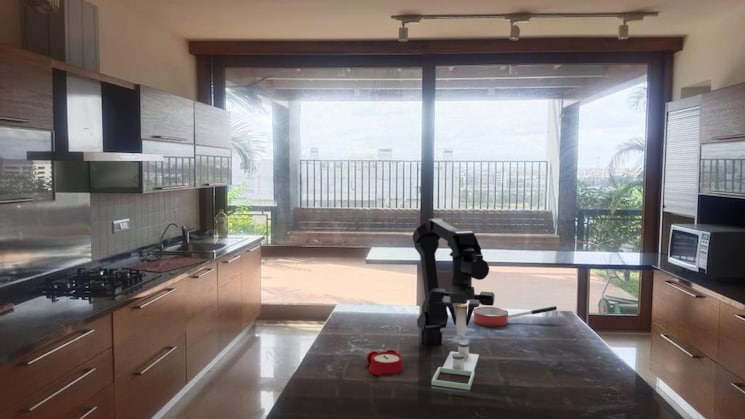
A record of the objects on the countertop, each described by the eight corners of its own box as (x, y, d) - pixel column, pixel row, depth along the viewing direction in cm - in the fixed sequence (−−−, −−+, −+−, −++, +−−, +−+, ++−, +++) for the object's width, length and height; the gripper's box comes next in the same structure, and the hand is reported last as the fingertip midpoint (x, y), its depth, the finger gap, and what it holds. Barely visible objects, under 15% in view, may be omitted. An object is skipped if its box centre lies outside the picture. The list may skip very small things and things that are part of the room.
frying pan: (545, 315, 211) (545, 300, 210) (560, 325, 198) (561, 308, 197) (469, 318, 207) (469, 302, 206) (479, 328, 194) (480, 311, 193)
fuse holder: (440, 374, 149) (441, 357, 149) (450, 354, 165) (450, 339, 165) (472, 377, 146) (472, 360, 146) (479, 357, 162) (479, 342, 162)
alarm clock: (375, 367, 144) (363, 339, 158) (373, 387, 146) (362, 357, 160) (410, 364, 147) (395, 337, 161) (408, 383, 149) (394, 354, 163)
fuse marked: (454, 332, 153) (454, 307, 152) (456, 329, 156) (456, 304, 156) (466, 334, 152) (466, 307, 151) (467, 330, 155) (468, 305, 155)
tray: (431, 388, 139) (431, 380, 139) (438, 374, 149) (438, 366, 149) (469, 393, 136) (469, 385, 136) (474, 378, 146) (474, 371, 146)
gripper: (425, 276, 148) (424, 330, 149) (491, 280, 142) (491, 336, 143) (432, 269, 159) (432, 319, 160) (495, 273, 153) (494, 325, 154)
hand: (461, 325), depth 154 cm, fingers closed on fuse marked, 3 cm apart
